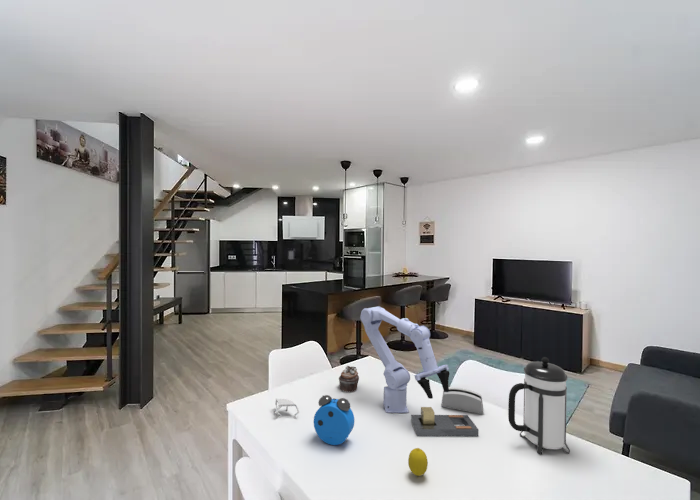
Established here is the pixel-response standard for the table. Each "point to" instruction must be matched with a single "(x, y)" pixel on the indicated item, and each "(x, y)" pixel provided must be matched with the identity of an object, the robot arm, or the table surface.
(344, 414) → the alarm clock
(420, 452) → the lemon
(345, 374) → the cupcake
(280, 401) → the miniature table
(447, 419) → the rail plate
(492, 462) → the table surface
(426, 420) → the brass peg
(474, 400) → the grey rounded block
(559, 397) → the coffee press
